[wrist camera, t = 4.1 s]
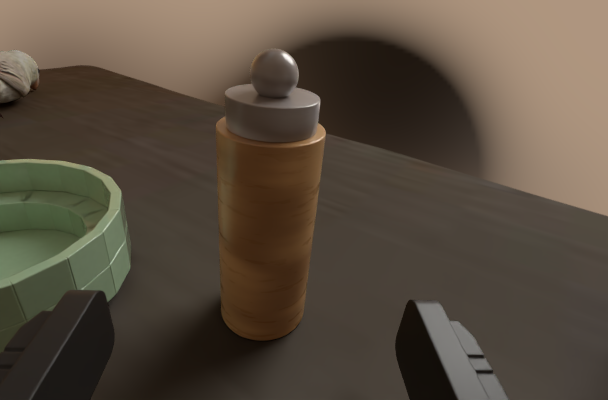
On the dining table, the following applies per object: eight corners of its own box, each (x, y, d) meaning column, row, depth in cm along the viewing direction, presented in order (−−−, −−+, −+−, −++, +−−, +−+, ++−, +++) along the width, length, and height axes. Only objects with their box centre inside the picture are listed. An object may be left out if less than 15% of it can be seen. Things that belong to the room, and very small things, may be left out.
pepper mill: (301, 280, 24) (328, 46, 17) (306, 341, 20) (344, 64, 13) (226, 278, 23) (222, 36, 16) (215, 340, 19) (202, 51, 12)
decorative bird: (56, 90, 56) (43, 37, 52) (3, 124, 42) (-19, 55, 39) (16, 88, 55) (0, 34, 51) (-52, 122, 41) (-80, 51, 38)
